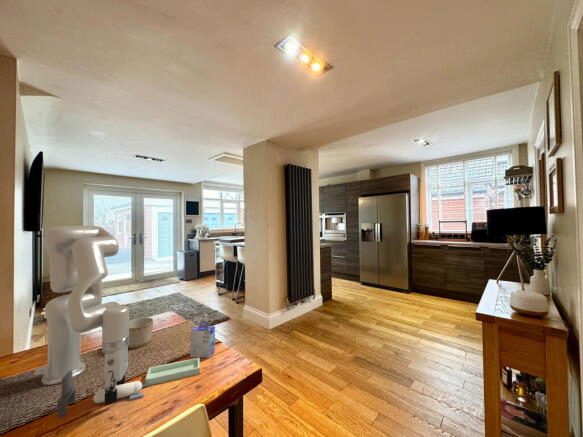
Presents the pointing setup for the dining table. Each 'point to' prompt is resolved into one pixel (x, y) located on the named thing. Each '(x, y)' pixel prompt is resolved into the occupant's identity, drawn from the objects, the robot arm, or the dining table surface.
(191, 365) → the tray
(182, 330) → the dining table surface
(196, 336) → the ink cartridge box
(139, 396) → the pair of grey bars
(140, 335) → the planter
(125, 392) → the capsule
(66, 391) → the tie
